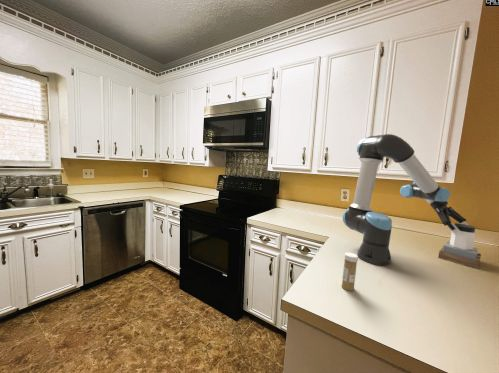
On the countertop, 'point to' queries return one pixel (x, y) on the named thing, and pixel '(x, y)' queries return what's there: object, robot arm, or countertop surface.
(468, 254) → the grey top brick
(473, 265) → the walnut base brick
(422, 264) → the countertop surface
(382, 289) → the countertop surface
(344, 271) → the sprinkles bottle
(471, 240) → the jar
